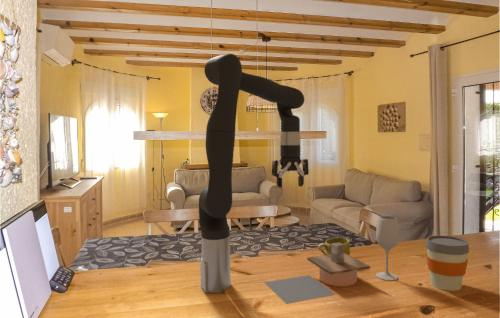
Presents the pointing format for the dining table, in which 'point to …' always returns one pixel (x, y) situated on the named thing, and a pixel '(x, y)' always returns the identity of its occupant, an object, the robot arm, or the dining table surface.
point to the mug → (335, 240)
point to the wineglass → (387, 241)
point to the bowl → (339, 278)
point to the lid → (338, 261)
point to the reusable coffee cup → (447, 261)
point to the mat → (299, 289)
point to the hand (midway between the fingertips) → (290, 186)
